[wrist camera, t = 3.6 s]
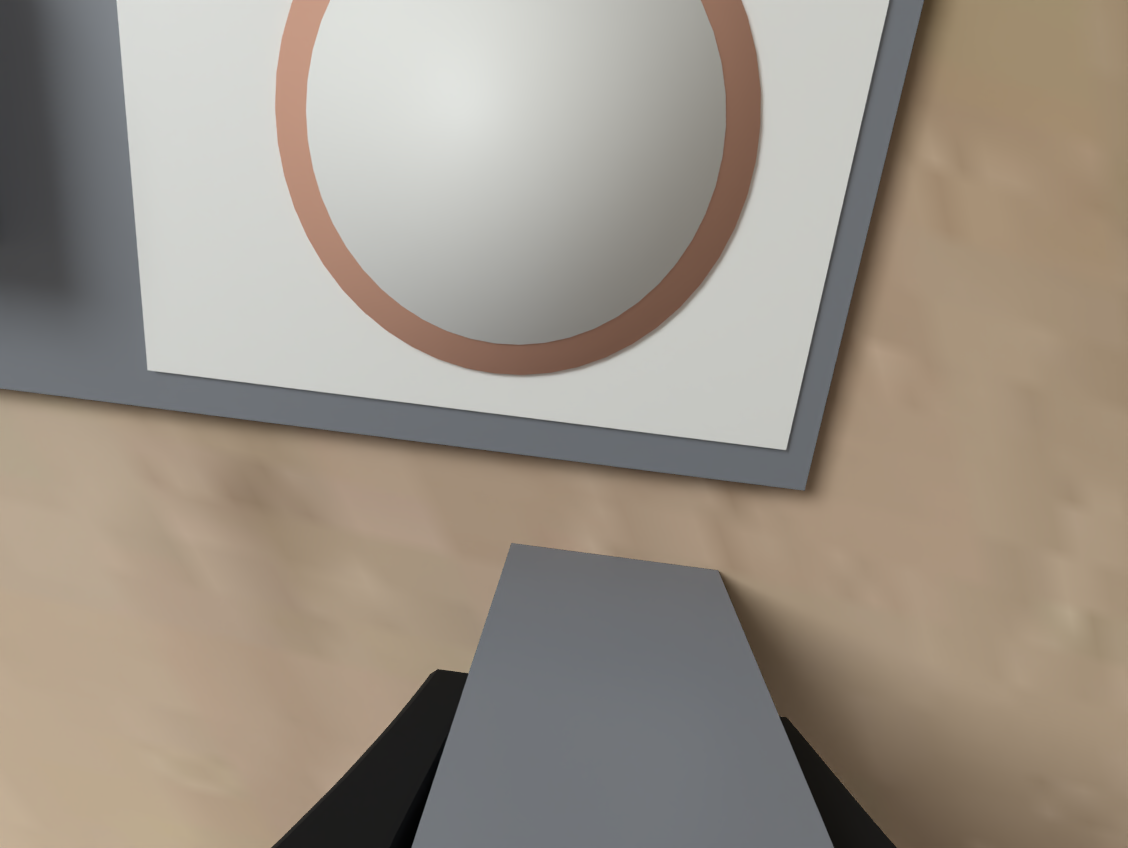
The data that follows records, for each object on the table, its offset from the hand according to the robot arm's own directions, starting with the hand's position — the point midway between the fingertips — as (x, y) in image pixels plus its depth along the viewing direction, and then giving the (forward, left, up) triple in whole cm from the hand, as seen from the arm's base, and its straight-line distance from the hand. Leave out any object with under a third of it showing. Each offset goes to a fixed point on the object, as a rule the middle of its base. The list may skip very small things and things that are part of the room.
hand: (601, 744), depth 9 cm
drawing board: (+9, +6, -2) cm, 11 cm away
